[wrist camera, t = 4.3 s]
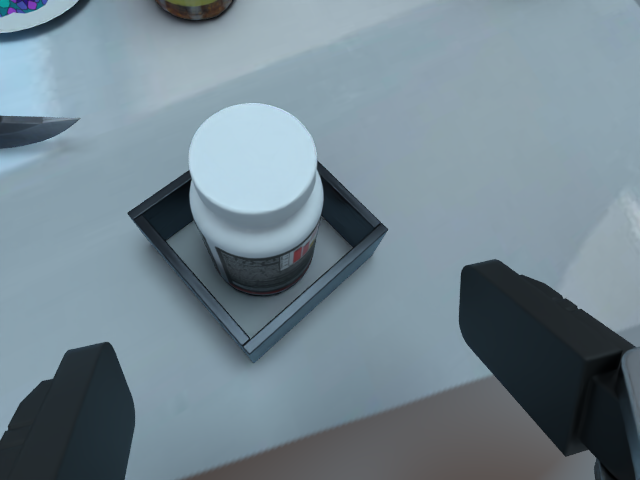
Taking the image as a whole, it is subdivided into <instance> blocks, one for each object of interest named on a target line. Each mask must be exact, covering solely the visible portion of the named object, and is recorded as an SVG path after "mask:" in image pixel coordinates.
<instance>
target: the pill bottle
mask: <svg viewBox="0 0 640 480" xmlns="http://www.w3.org/2000/svg"><path fill="white" fill-rule="evenodd" d="M188 163H189V171H190V174H191V178H192V181H191V186H190V193H189V196H190V207H191V211H192V215H193V218H194V221H195V223H196V225H197V228H198V230H199V232H200V234H201V236H202V238H203V241H204V243H205V245H206V247H207V250H208V252H209V254H210V256H211V258H212V261H213V263H214V265H215V267H216V269H217V271H218V272H219V273H220V275H221V276H222V277H223V278H224V279H225V281H227V282H228V283H229V284H230V285H231V286H233V287H234V288H236V289H238V290H240V291H242V292H245V293H249V294H253V295H271V294H275V293H279V292H282V291H284V290H286V289H288V288H290V287H291V286H293V285H294V284H295V283H296V282H298V281H299V280H300V279H301V278H302V276H303V275H304V274H305V272H306V271H307V269H308V267H309V265H310V263H311V260H312V257H313V252H314V247H315V243H316V237H317V233H318V228H319V223H320V219H321V214H322V209H323V201H324V198H323V186H322V182H321V178H320V175H319V173H318V171H317V151H316V147H315V144H314V141H313V138H312V136H311V135H310V133H309V131H308V130H307V128H306V127H305V126H304V125H303V124H302V123H301V122H300V121H299V120H298V119H297V118H296V117H294V116H293V115H291V114H290V113H288V112H286V111H285V110H283V109H280V108H278V107H274V106H271V105H267V104H262V103H244V104H238V105H234V106H230V107H227V108H225V109H222V110H220V111H218V112H217V113H215V114H213V115H212V116H211V117H209V118H208V119H207V120H206V121H205V122H204V123H203V124H202V125H201V126H200V127H199V129H198V130H197V132H196V133H195V135H194V137H193V139H192V141H191V145H190V148H189V154H188Z"/></svg>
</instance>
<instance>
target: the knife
mask: <svg viewBox="0 0 640 480" xmlns="http://www.w3.org/2000/svg"><path fill="white" fill-rule="evenodd" d="M79 119H81V118H56V117H22V116H0V149H2V148H12V147H18V146H24V145H29V144H33V143H37V142H40V141H44V140H46V139H49V138H52V137H54V136H56V135H58V134H60V133H61V132H63V131H65V130H66V129H68V128H69V127H70V126H72V125H73V124H74V123H76V122H77V121H78V120H79Z"/></svg>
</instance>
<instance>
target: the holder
mask: <svg viewBox="0 0 640 480" xmlns="http://www.w3.org/2000/svg"><path fill="white" fill-rule="evenodd" d="M317 171H318V173H319V175H320V178H321V182H322V186H323V198H324V201H323V209H322V214H321V215H322V216H323V217H324V218H325V219H326V220H327V221H328V222H329V223H330V224H331V225H332V226H333V227H334V228H335V229H336V230H337V231H338V232H339V233H340V234H341V235H342V236H343V237H344V238H345V239H346V240H347V241H348V242H349V243H350V244H351V245H352V246H353V247H354V248H352V249H351V250H350V251H349V252H348V253H347V254H346V255H345V256H343V257H342V258H341V259H340V260H339V261H338V262H337V263H336V264H334V265H333V266H332V267H331V268H330V269H329V270H328V271H327V272H325V273H324V274H323V275H322V276H321V277H320V278H319V279H318V280H316V281H315V282H314V283H313V284H312V285H311V286H310V287H309V288H307V289H306V290H305V291H304V292H303V293H302V294H301V295H300V296H298V297H297V298H296V299H295V300H294V301H293V302H292V303H291V304H289V305H288V306H287V307H286V308H285V309H284V310H283V311H282V312H280V313H279V314H278V315H277V316H276V317H275V318H274V319H273V320H271V321H270V322H269V323H268V324H267V325H266V326H265V327H264V328H262V329H261V330H260V331H259V332H258V333H257V334H256V335H255V336H253V337H252V338H251V339H250V338H249V336H248V335H247V334H246V333H245V332H244V331H243V329H242V328H241V327H240V326H239V325H238V324H237V323H236V321H235V320H234V319H233V318H232V317H231V316H230V315H229V313H228V312H227V311H226V310H225V309H224V308H223V307H222V305H221V304H220V303H219V302H218V301H217V300H216V298H215V297H214V296H213V295H212V294H211V293H210V292H209V290H208V289H207V288H206V287H205V286H204V285H203V284H202V282H201V281H200V280H199V279H198V278H197V277H196V276H195V274H194V273H193V272H192V271H191V270H190V269H189V267H188V266H187V265H186V264H185V263H184V262H183V261H182V259H181V258H180V257H179V256H178V255H177V254H176V253H175V251H174V250H173V249H172V248H171V247H170V246H169V245H168V243H167V242H166V241H165V240H167V239H168V238H169V237H171V236H172V235H173V234H175V233H176V232H177V231H179V230H180V229H181V228H183V227H184V226H185V225H187V224H188V223H190V222H191V221H192V220H194V218H193V215H192V211H191V207H190V196H189V193H190V186H191V181H192V178H191V174H190V171H187V172H186V173H184V174H183V175H181V176H180V177H178V178H177V179H176V180H174V181H173V182H171V183H170V184H168V185H167V186H166V187H164V188H163V189H161V190H160V191H158V192H157V193H155V194H154V195H153V196H151V197H150V198H148V199H147V200H145V201H144V202H142V203H141V204H140V205H138V206H137V207H135V208H134V209H132V210H131V211H129V212H128V215H129V216H130V218H131V219H132V220H133V222H134V223H135V224H136V225H137V227H138V228H139V229H140V231H141V232H142V233H143V234H144V236H145V237H146V238H147V239H148V241H149V242H150V243H151V244H152V246H153V247H154V248H155V249H156V250H157V251H158V253H159V254H160V255H161V256H162V257H163V258H164V260H165V261H166V262H167V263H168V264H169V265H170V267H171V268H172V269H173V270H174V271H175V272H176V274H177V275H178V276H179V277H180V278H181V279H182V280H183V282H184V283H185V284H186V285H187V286H188V287H189V289H190V290H191V291H192V292H193V293H194V294H195V296H196V297H197V298H198V299H199V300H200V301H201V303H202V304H203V305H204V306H205V307H206V308H207V310H208V311H209V312H210V313H211V314H212V315H213V317H214V318H215V319H216V320H217V321H218V322H219V324H220V325H221V326H222V327H223V328H224V329H225V331H226V332H227V333H228V334H229V335H230V336H231V338H232V339H233V340H234V341H235V342H236V343H237V344H238V346H239V347H240V348H241V349H242V350H243V351H244V353H245V354H246V355H247V356H248V357H249V358H250V360H251V361H252V362H253V363H255V362H256V361H257V360H258V359H259V358H260V357H261V356H262V355H264V354H265V353H266V352H267V351H268V350H269V349H270V348H271V347H272V346H273V345H274V344H276V343H277V342H278V341H279V340H280V339H281V338H282V337H283V336H284V335H285V334H287V333H288V332H289V331H290V330H291V329H292V328H293V327H294V326H295V325H296V324H297V323H299V322H300V321H301V320H302V319H303V318H304V317H305V316H306V315H307V314H308V313H309V312H311V311H312V310H313V309H314V308H315V307H316V306H317V305H318V304H319V303H320V302H322V301H323V300H324V299H325V298H326V297H327V296H328V295H329V294H330V293H331V292H332V291H334V290H335V289H336V288H337V287H338V286H339V285H340V284H341V283H342V282H343V281H344V280H346V279H347V278H348V277H349V276H350V275H351V274H352V273H353V272H354V271H355V270H357V269H358V268H359V267H360V266H361V265H362V264H363V263H364V262H365V261H366V260H367V259H369V258H370V257H371V256H372V254H373V253H374V251H375V250H376V248H377V246H378V245H379V243H380V242H381V240H382V239H383V237H384V235H385V234H386V232H387V231H388V229H387V228H386V227H385V226H384V225H383V224H382V223H381V222H380V221H379V220H378V219H377V218H376V217H375V216H374V215H373V214H372V213H371V212H370V211H369V210H368V209H367V208H366V207H365V206H364V205H363V204H362V203H360V202H359V201H358V200H357V199H356V198H355V197H354V196H353V195H352V194H351V193H350V192H349V191H348V190H347V189H346V188H345V187H344V186H343V185H342V184H341V183H340V182H339V181H338V180H337V179H336V178H335V177H334V176H333V175H332V174H331V173H330V172H329V171H328V170H327V169H326V168H325V167H324V166H323V165H321V164H320V163H319V162H318V161H317Z"/></svg>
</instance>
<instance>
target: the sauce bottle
mask: <svg viewBox="0 0 640 480" xmlns="http://www.w3.org/2000/svg"><path fill="white" fill-rule="evenodd" d="M155 1H156V2H157V3H158V4H159V5H160V6H161V7H162V8H163V9H164V10H166V11H168V12H169V13H171V14H173V15H175V16H176V17H179V18H184V19H188V20H200V19H209V18H212V17H216V16H218V15H219V14H220V13H222V12H223V11H224V10H226V8H227V7H228V6H229V5H230V4H231V2H232V0H155Z"/></svg>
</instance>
